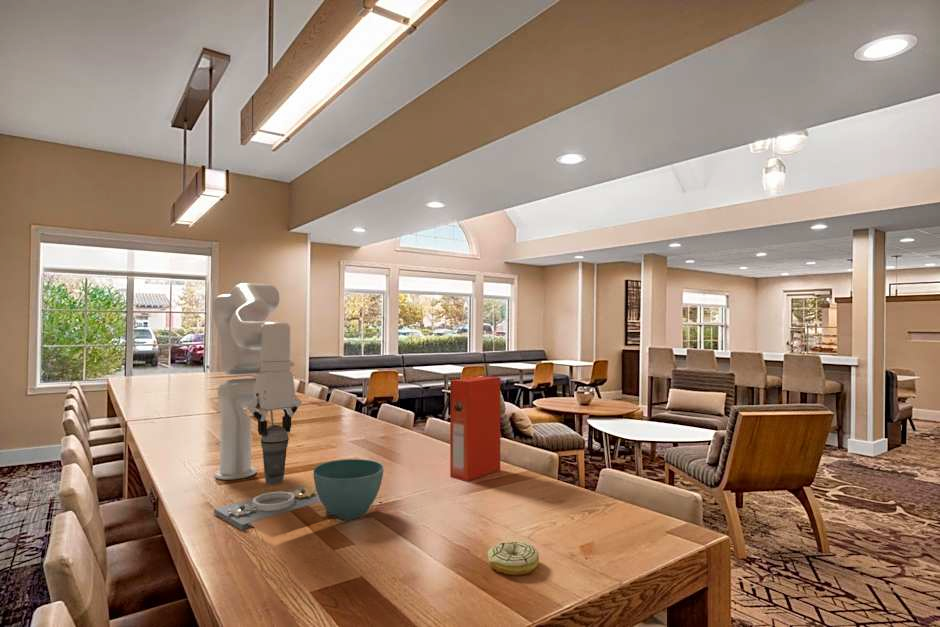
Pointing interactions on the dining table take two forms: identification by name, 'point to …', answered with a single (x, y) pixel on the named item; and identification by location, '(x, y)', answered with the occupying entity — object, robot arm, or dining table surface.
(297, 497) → the gear
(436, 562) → the dining table surface
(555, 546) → the dining table surface
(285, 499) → the gear board
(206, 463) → the dining table surface
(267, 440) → the beverage cup
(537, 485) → the dining table surface
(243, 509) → the gear
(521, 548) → the decorated donut
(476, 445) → the file binder
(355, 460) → the plant pot
